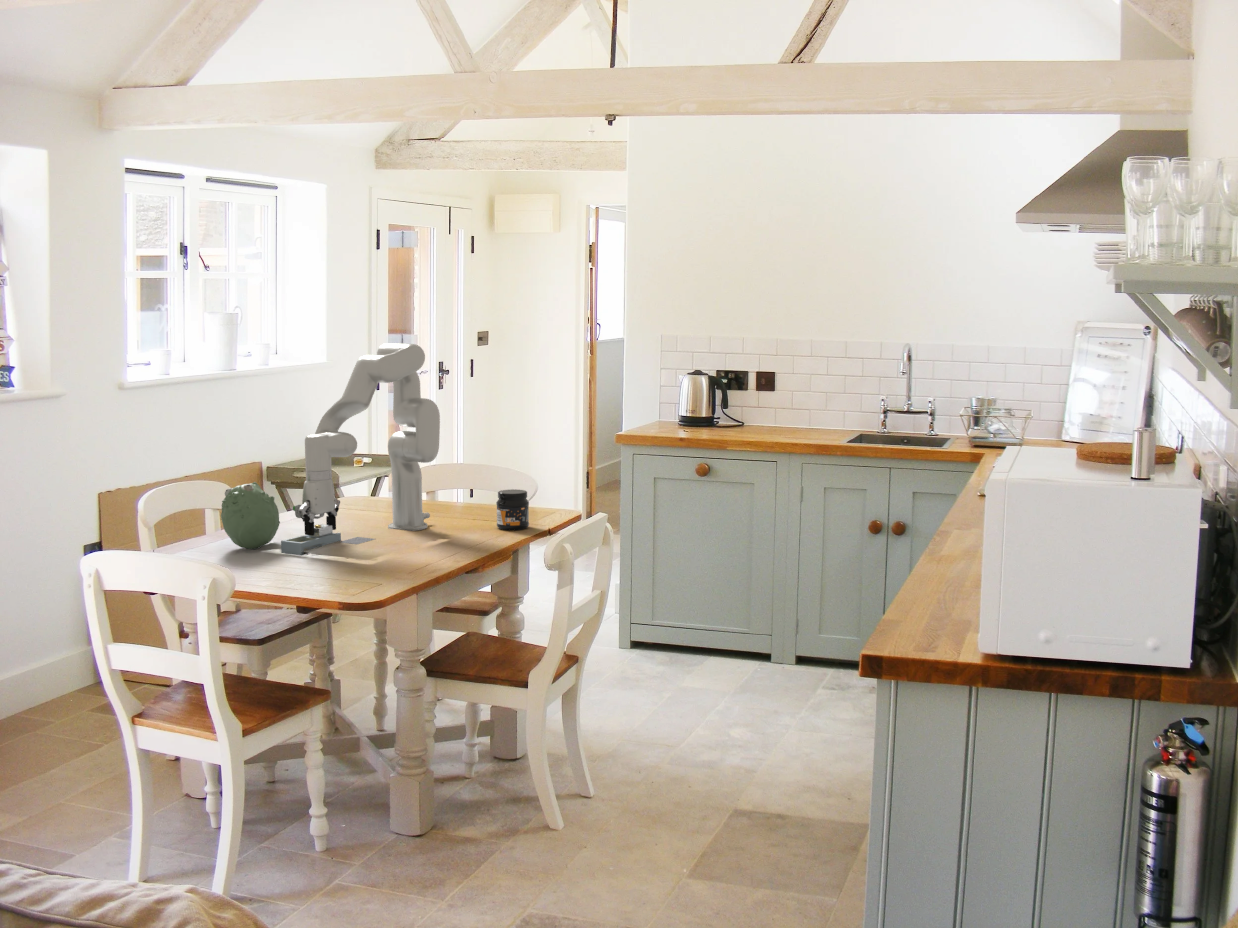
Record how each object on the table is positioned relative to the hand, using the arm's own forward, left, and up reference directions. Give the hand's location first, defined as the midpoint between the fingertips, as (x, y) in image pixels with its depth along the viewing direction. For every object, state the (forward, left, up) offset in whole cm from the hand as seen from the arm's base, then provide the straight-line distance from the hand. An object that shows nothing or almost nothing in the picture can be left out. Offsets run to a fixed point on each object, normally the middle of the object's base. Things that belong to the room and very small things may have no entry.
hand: (320, 532), depth 359 cm
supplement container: (-51, +36, -4) cm, 63 cm away
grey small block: (0, 0, -1) cm, 1 cm away
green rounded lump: (+12, -16, -4) cm, 20 cm away
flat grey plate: (-7, +8, -4) cm, 12 cm away
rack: (+4, 0, -4) cm, 6 cm away
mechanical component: (-9, -12, -4) cm, 16 cm away
